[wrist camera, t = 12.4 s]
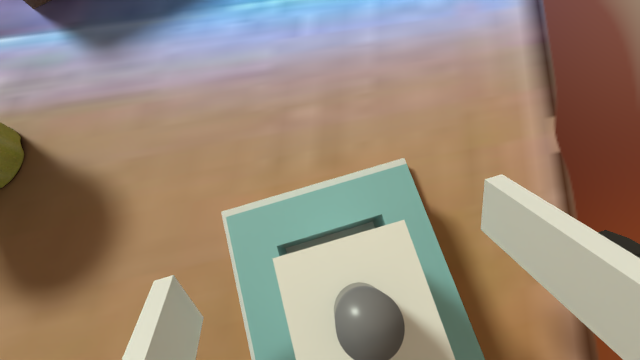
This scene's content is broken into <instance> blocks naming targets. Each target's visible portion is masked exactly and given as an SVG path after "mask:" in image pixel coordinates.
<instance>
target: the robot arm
mask: <svg viewBox="0 0 640 360" xmlns="http://www.w3.org/2000/svg"><path fill="white" fill-rule="evenodd" d="M481 230H482V231H483V232H484V233H485V234H486V235H487V236H489V237H490V238H491V239H492V240H493V241H494V242H495V243H496V244H497V245H498V246H499V247H501V248H502V249H503V250H504V251H505V252H506V253H507V254H508V255H509V256H510V257H511V258H513V259H514V260H515V261H516V262H517V263H518V264H519V265H520V266H521V267H522V268H524V269H525V270H526V271H527V272H528V273H529V274H530V275H531V276H532V277H533V278H534V279H536V280H537V281H538V282H539V283H540V284H541V285H542V286H543V287H544V288H545V289H547V290H548V291H549V292H550V293H551V294H552V295H553V296H554V297H555V298H556V299H557V300H559V301H560V302H561V303H562V304H563V305H564V306H565V307H566V308H567V309H568V310H569V311H571V312H572V313H573V314H574V315H575V316H576V317H577V318H578V319H579V320H580V321H582V322H583V323H584V324H585V325H586V326H587V327H588V328H589V329H590V330H591V331H592V332H594V333H595V334H596V335H597V336H598V337H599V338H600V339H601V340H602V341H604V342H605V343H606V344H607V345H608V346H609V347H610V348H611V349H612V350H613V351H614V352H615V353H617V354H618V355H619V356H620V357H621V358H622V359H623V360H640V244H638V243H636V242H635V241H633V240H631V239H629V238H627V237H624V236H621V235H618V234H615V233H613V232H610V231H607V230H604V231H601V232H598V233H597V232H596V231H594V230H592V229H591V228H589V227H588V226H586V225H584V224H583V223H581V222H579V221H578V220H576V219H574V218H573V217H571V216H569V215H568V214H566V213H565V212H563V211H561V210H560V209H558V208H556V207H555V206H553V205H551V204H550V203H548V202H546V201H545V200H543V199H542V198H540V197H538V196H537V195H535V194H533V193H532V192H530V191H528V190H527V189H525V188H523V187H522V186H520V185H519V184H517V183H515V182H514V181H512V180H510V179H509V178H507V177H505V176H504V175H502V174H501V175H498V176H495V177H492V178H488V179H485V183H484V196H483V209H482V222H481ZM202 322H203V316H202V315H201V313H200V312H199V310H198V309H197V308H196V306H195V305H194V303H193V302H192V300H191V299H190V298H189V296H188V295H187V293H186V292H185V291H184V289H183V288H182V286H181V285H180V284H179V282H178V281H177V279H176V278H175V276H174V275H172V276H169V277H165V278H162V279H159V280H156V281H154V282H153V285H152V287H151V290H150V292H149V295H148V297H147V300H146V302H145V304H144V307H143V309H142V312H141V314H140V317H139V319H138V321H137V324H136V326H135V329H134V331H133V334H132V336H131V339H130V341H129V343H128V346H127V348H126V351H125V353H124V356H123V358H122V360H195V359H196V354H197V349H198V343H199V338H200V333H201V327H202Z"/></svg>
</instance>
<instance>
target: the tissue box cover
mask: <svg viewBox="0 0 640 360" xmlns="http://www.w3.org/2000/svg"><path fill="white" fill-rule="evenodd" d="M23 1H25V2H26V3H27V4H28V5H29V6H31V7H32V8H33V9H34V8H37V7H39V6H41V5H43V4H45V3H47V2H49V1H51V0H23Z"/></svg>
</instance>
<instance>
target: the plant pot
mask: <svg viewBox="0 0 640 360" xmlns="http://www.w3.org/2000/svg"><path fill="white" fill-rule="evenodd" d="M20 139H21V137H20V136H19V134H18V133H17V132H15V131H14V130H13V129H11V128H9V127H7V126H6V125H4V124H2V123H0V188H2V187H4V186H5V185H6V184H7V183H9V182H10V181H11V180H12V178H13V177H14V176H15V175H16V173H17V172H18V170H19V168H20V166H21V164H22V162H23V158H24V151H23V149H22V147H21V143H20Z"/></svg>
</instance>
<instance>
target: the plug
mask: <svg viewBox="0 0 640 360" xmlns="http://www.w3.org/2000/svg"><path fill="white" fill-rule="evenodd" d="M272 259H273V263H274V267H275V272H276V276H277V280H278V285H279V289H280V293H281V297H282V302H283V306H284V310H285V315H286V319H287V323H288V328H289V332H290V336H291V341H292V345H293V349H294V353H295V358H296V360H455V357H454V354H453V352H452V349H451V346H450V344H449V341H448V338H447V335H446V333H445V330H444V327H443V324H442V322H441V319H440V316H439V313H438V311H437V308H436V305H435V302H434V300H433V297H432V294H431V292H430V289H429V286H428V283H427V281H426V278H425V275H424V272H423V270H422V267H421V264H420V261H419V259H418V256H417V253H416V250H415V248H414V245H413V242H412V240H411V237H410V234H409V231H408V229H407V226H406V223H405V220H401V221H398V222H395V223H391V224H388V225H384V226H381V227H378V228H374V229H371V230H367V231H364V232H361V233H357V234H354V235H350V236H347V237H344V238H340V239H337V240H333V241H330V242H327V243H323V244H320V245H316V246H313V247H310V248H306V249H303V250H299V251H296V252H293V253H289V254H286V255H282V256H279V257H276V258H272Z"/></svg>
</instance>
